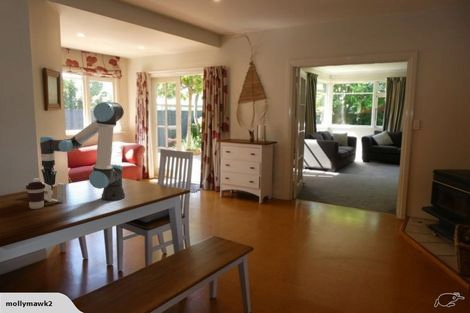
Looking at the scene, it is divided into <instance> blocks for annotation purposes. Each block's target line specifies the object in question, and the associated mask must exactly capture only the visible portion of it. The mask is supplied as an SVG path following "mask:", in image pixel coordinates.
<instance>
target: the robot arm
mask: <svg viewBox="0 0 470 313" xmlns="http://www.w3.org/2000/svg"><path fill="white" fill-rule="evenodd" d="M124 111H125V110H124V108H123V106H122V105H121V104H120V103H119V102H111V101H110V102H109V101H102V102H99V103H97V104H96V105H95V107H94V109H93V117H94V119H95V120H93V122H91V123H89V124H88V125H87V126H86V127H85V128H83V129H81V130H80V131H79V132H78V133H76V134H75V135H74V136H72V137H70V138H65V139H55V138H54V137H53V135H42V136H40V137H39V145H40V147H39V148H40V159H41V167H43V168H42V169H41V170H40V171H41V173H42V177H43V183H45V184H48V185H50V186H51V193H52V196H53V195H54V191H53V190H54V188H53V187H54V185H55V184H56V178H57V172H58V171H56V170H55V168H54V166H55V165H56V162H55V161H56V160H55V152H60V153H61V152H62V153H69V152H71V151H72V150H78V149H81V148H82V147H83V145H84V144H85V143H86V142H88V141H89V140H90V139H92V138H93V137H95V136H96V135H97V147H96V148H97V149H96V160H95V161H96V162H95V164H94V165H93V168H92V172H91V173H89V176H88V181H89V184H90V185H91V186H92V187H93V188H96V189H102V193H101V199H102V201H103V200H104V201H111V202H112V201H119V200H123V199H125V198H126V193H125V190H124V188H123V187H124V186H123V166H122V165H121V164H113V163H112V153H113V141H114V140H113V139H114V128H115V127H116V126H117V122H118V121H120V120H121V119H122V118H123V116H124V113H125V112H124Z"/></svg>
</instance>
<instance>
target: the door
mask: <svg viewBox="0 0 470 313" xmlns="http://www.w3.org/2000/svg"><path fill="white" fill-rule="evenodd" d="M39 182H42V183H43V184H45V183H44V181H42V180H40V181H39ZM52 197H53V195H52V193H51V186H50V185H48V184H45V188H44V201H47V202H48V203H51V202H52V201H53V200H52V199H53V198H52Z"/></svg>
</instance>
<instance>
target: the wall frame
mask: <svg viewBox="0 0 470 313" xmlns="http://www.w3.org/2000/svg"><path fill="white" fill-rule="evenodd" d="M39 181H41V178H38V177H37V178H36V177H35V178H34V177H33V180H32V182H39ZM56 189H57V192H56V193H57V199H55V198H52V201H53V202H57V203H62V204H65V203H66V202H67V189H66V183H63V182H58V183H56Z"/></svg>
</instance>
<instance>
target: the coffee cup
mask: <svg viewBox="0 0 470 313" xmlns="http://www.w3.org/2000/svg"><path fill="white" fill-rule="evenodd" d="M42 182H43V181H42ZM42 182H33V181H32V182H29V183H28V185H25V190H27V192H26V194H27V200H28V205H29V208H30V209H32V210H33V209H35V210H36V209H40V208H44V206H45V205H44V204H45V199H44V188H45V184H43V183H44V182H43V183H42Z"/></svg>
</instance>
